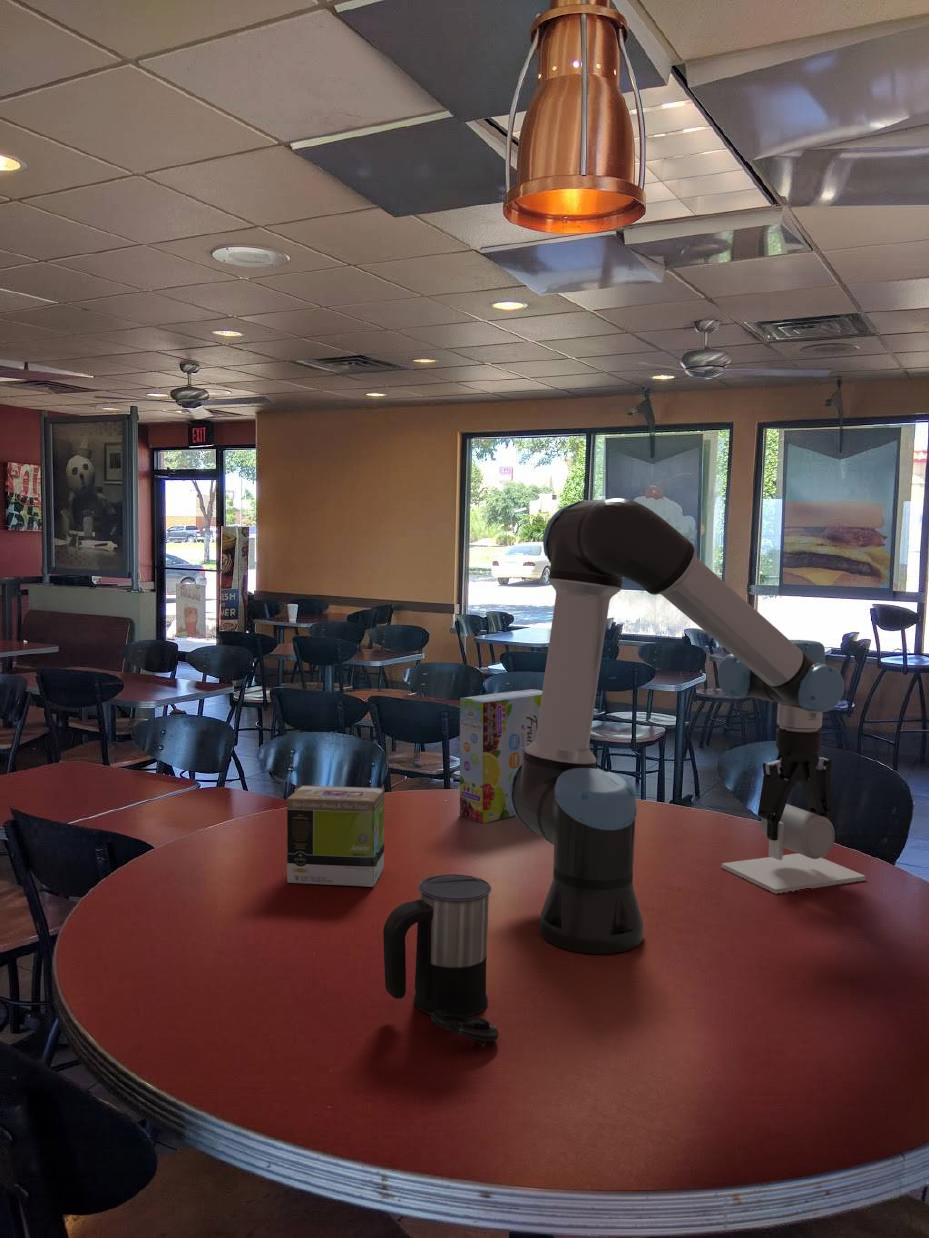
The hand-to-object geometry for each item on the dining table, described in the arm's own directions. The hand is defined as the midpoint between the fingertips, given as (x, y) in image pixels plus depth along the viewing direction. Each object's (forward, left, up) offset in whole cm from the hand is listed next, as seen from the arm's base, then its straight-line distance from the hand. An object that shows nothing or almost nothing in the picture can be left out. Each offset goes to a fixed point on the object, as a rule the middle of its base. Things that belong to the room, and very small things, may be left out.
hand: (793, 854), depth 168 cm
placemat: (0, 0, -3) cm, 3 cm away
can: (+4, -5, +5) cm, 8 cm away
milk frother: (-43, -68, -4) cm, 81 cm away
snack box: (-57, +23, -4) cm, 62 cm away
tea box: (-76, -27, -4) cm, 81 cm away
